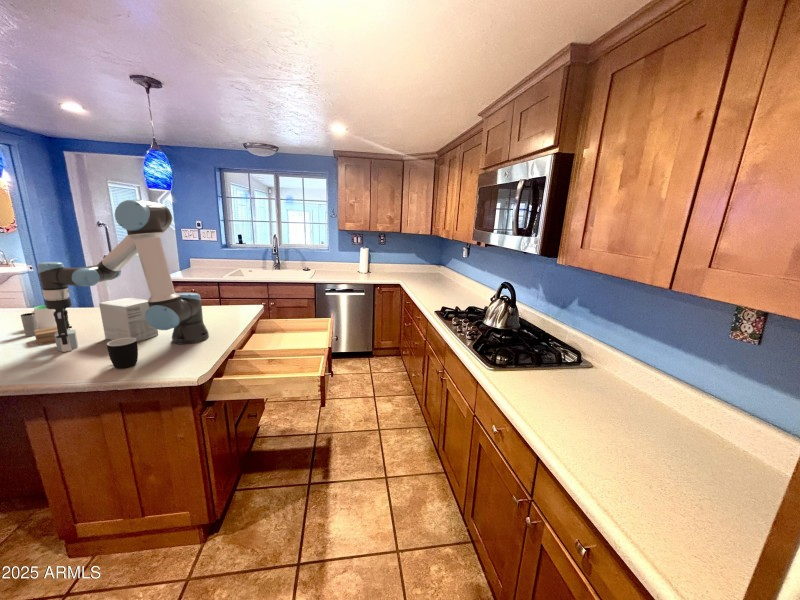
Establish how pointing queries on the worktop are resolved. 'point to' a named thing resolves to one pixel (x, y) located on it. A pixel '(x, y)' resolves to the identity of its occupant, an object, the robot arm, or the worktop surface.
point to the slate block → (71, 337)
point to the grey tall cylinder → (29, 323)
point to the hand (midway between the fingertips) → (67, 346)
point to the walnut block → (45, 335)
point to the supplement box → (126, 319)
